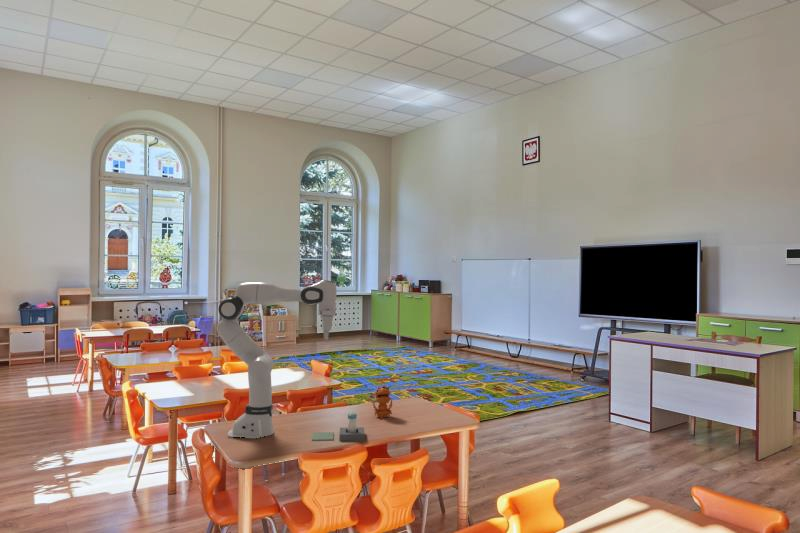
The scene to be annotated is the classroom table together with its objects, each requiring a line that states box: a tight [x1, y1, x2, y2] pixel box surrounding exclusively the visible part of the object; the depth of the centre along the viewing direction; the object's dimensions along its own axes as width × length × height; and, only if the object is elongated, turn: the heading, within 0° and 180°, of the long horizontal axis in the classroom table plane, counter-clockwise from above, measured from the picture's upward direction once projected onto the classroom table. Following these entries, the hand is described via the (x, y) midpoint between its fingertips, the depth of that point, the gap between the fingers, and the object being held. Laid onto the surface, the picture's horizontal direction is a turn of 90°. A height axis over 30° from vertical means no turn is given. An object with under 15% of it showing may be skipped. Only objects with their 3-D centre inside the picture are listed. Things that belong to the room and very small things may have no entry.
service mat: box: [311, 431, 335, 442], centre depth 266 cm, size 10×12×2 cm
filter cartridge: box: [347, 412, 358, 433], centre depth 267 cm, size 4×4×11 cm
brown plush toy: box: [372, 385, 393, 418], centre depth 311 cm, size 11×11×18 cm
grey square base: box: [338, 426, 366, 442], centre depth 267 cm, size 12×12×4 cm
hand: (325, 339), depth 278 cm, fingers open, 8 cm apart
